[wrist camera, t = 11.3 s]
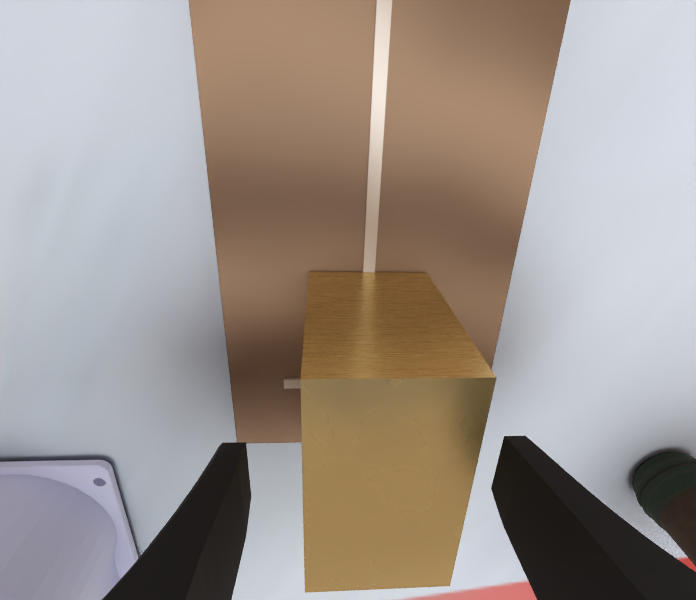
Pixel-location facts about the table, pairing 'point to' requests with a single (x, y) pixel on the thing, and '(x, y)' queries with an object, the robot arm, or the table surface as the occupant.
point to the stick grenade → (670, 496)
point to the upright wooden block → (386, 431)
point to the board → (364, 163)
